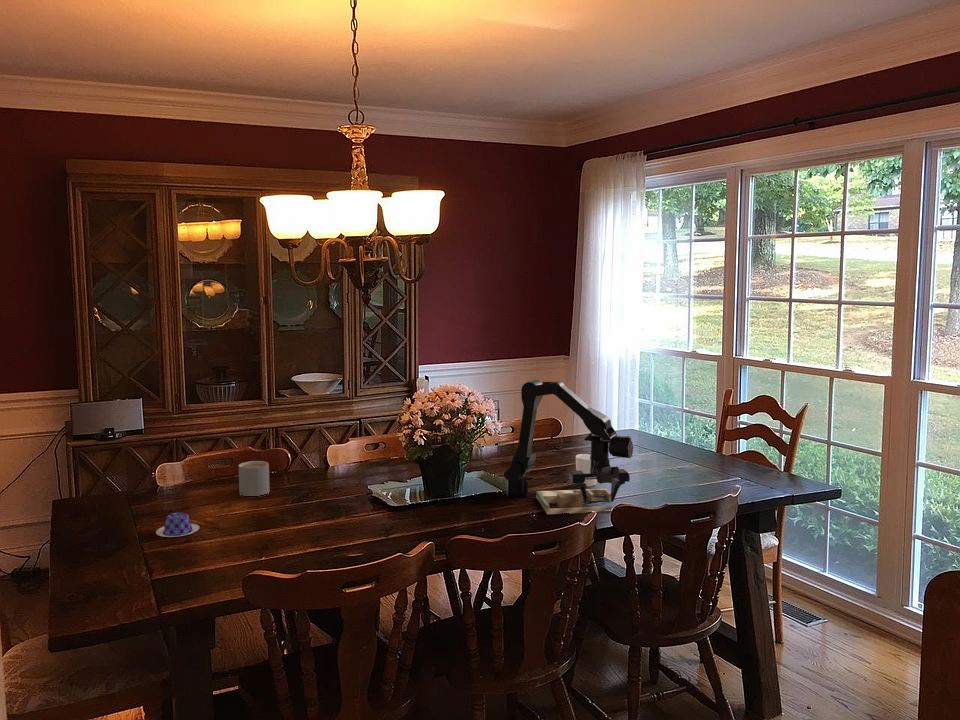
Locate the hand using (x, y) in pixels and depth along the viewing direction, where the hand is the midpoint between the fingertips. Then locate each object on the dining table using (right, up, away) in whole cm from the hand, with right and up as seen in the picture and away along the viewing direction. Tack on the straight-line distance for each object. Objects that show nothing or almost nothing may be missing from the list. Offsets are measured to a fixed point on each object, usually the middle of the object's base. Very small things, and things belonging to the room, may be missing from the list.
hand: (598, 502), depth 257 cm
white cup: (-1, +1, +26) cm, 26 cm away
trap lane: (-7, -1, +2) cm, 7 cm away
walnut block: (-10, -2, -1) cm, 10 cm away
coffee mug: (-116, 0, +18) cm, 118 cm away
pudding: (-127, -5, -23) cm, 129 cm away
